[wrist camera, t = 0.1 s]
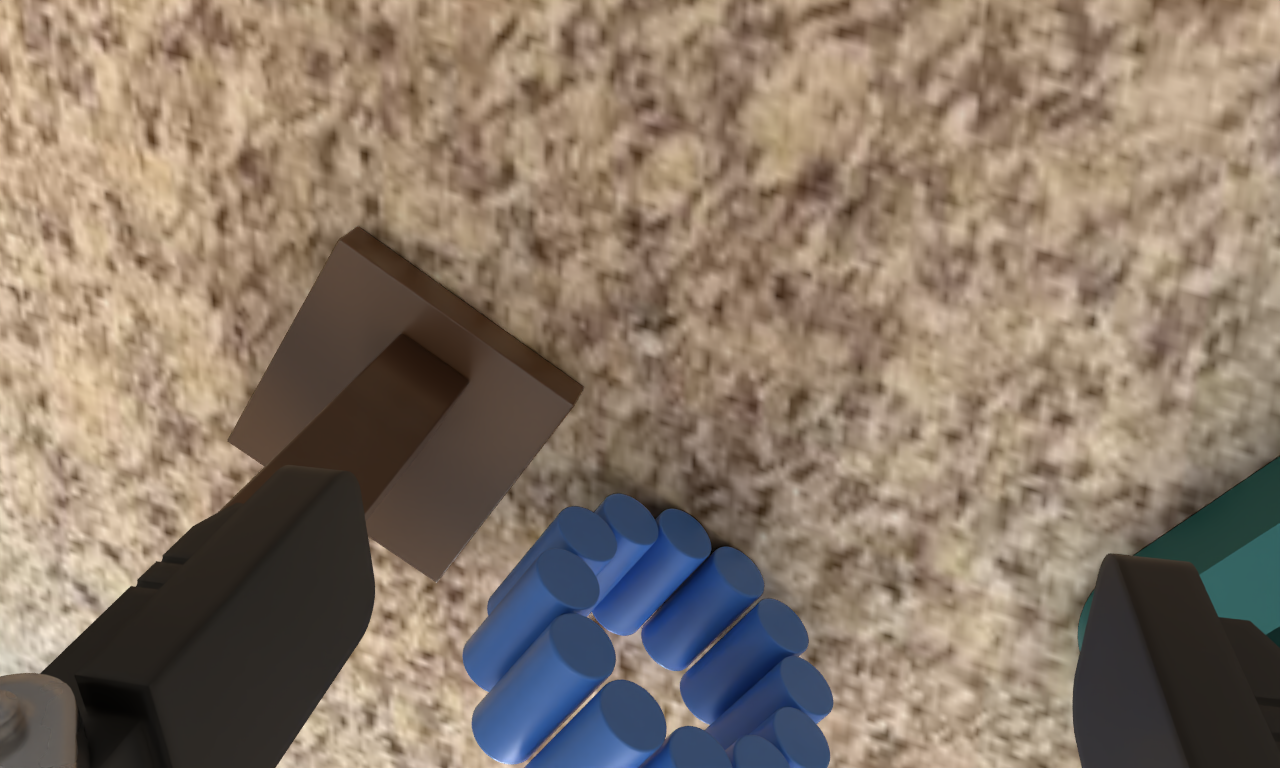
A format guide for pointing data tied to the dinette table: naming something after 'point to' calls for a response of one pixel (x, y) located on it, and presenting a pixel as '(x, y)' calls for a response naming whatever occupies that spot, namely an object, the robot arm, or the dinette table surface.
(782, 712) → the blue ribbed cylinder bundle
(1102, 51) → the dinette table surface
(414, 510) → the tape stand
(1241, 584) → the bracket
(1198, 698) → the robot arm
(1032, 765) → the dinette table surface
